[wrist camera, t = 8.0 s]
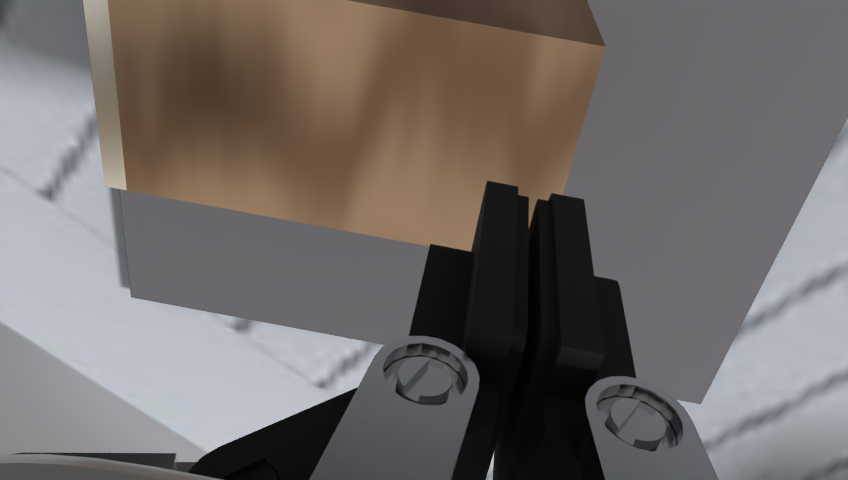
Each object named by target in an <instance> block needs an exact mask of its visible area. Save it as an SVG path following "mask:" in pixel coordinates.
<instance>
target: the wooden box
mask: <svg viewBox="0 0 848 480" xmlns="http://www.w3.org/2000/svg"><path fill="white" fill-rule="evenodd" d="M83 5H84V14H85V22H86V30H87V39H88V47H89V56H90V64H91V72H92V81H93V89H94V97H95V106H96V114H97V122H98V131H99V139H100V148H101V156H102V164H103V173H104V181H105V187H111V188H116V189H122V190H127V191H132V192H138V193H143V194H149V195H154V196H160V197H165V198H170V199H176V200H181V201H187V202H192V203H197V204H203V205H208V206H214V207H219V208H224V209H230V210H235V211H241V212H246V213H251V214H257V215H262V216H268V217H273V218H278V219H284V220H289V221H295V222H300V223H305V224H311V225H316V226H322V227H327V228H332V229H338V230H343V231H349V232H354V233H359V234H365V235H370V236H376V237H381V238H386V239H392V240H397V241H403V242H408V243H413V244H419V245H424V246H430V244H435V245H440V246H445V247H450V248H455V249H460V250H465V251H470V252H471V249H472V245H473V240H474V236H475V231H476V227H477V222H478V218H479V213H480V209H481V204H482V200H483V195H484V191H485V186H486V183H487V181H492V182H497V183H502V184H508V185H513V186H518V195H521V196H527V197H529V226H530V223H531V219H532V215H533V212H534V208H535V205H536V202H537V200H538V199H542V200H547V201H548V200H549V197H550V195H551V193H554V194H560V195H563V192H564V189H565V185H566V182H567V178H568V175H569V172H570V168H571V165H572V161H573V158H574V154H575V151H576V148H577V144H578V141H579V137H580V134H581V130H582V127H583V124H584V120H585V117H586V113H587V110H588V106H589V103H590V100H591V96H592V93H593V89H594V86H595V82H596V79H597V76H598V72H599V69H600V65H601V62H602V58H603V55H604V52H605V48H606V46H605V43H604V41H603V38H602V36H601V34H600V31H599V29H598V26H597V24H596V21H595V19H594V17H593V14H592V12H591V9H590V7H589V5H588V2H587V0H83Z"/></svg>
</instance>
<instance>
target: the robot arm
mask: <svg viewBox="0 0 848 480" xmlns="http://www.w3.org/2000/svg"><path fill="white" fill-rule="evenodd" d="M494 450H495V451H494ZM493 453H494V468H493V480H718V478H717V475H716V473H715V471H714V469H713V466H712V464H711V462H710V460H709V457H708V455H707V453H706V450H705V448H704V446H703V444H702V441H701V439H700V437H699V435H698V432H697V430H696V428H695V426H694V423H693V421H692V419H691V418H690V416H689V415H688V413H687V411H686V410H685V408H684V407H683V406H682V405H681V404H680V403H679V402H678V401H677V400H676V399H675V398H674V397H673V396H672V395H670V394H668V393H667V392H665V391H664V390H662V389H661V388H659V387H658V386H656V385H653V384H651V383H648V382H646V381H644V380H641V379H637V378H636V373H635V367H634V362H633V356H632V351H631V345H630V340H629V334H628V329H627V324H626V318H625V313H624V307H623V302H622V296H621V291H620V286H619V283H618V282H617V281H616V280H613V279H608V278H603V277H598V276H594V270H593V262H592V255H591V247H590V240H589V232H588V225H587V217H586V210H585V202H584V199H580V198H575V197H570V196H565V195H560V194H554V193H551V195H550V197H549V200H548V201H547V200H542V199H538V200H537V202H536V205H535V208H534V212H533V215H532V219H531V223H530V226H529V197H527V196H521V195H518V186H513V185H508V184H502V183H497V182H492V181H487V183H486V186H485V191H484V195H483V200H482V204H481V209H480V213H479V218H478V222H477V227H476V231H475V236H474V240H473V245H472V249H471V252H470V251H465V250H460V249H455V248H450V247H445V246H440V245H435V244H430V247H429V251H428V255H427V260H426V264H425V268H424V272H423V277H422V281H421V285H420V290H419V294H418V298H417V302H416V307H415V311H414V315H413V319H412V324H411V328H410V332H409V336H407V337H403V338H399V339H395V340H393V341H391V342H390V343H388V344H386V345H385V346H383V347H382V348H381V349H380V350H379V352H378V353H377V354H376V355H375V356H374V358H373V360H372V362H371V364H370V366H369V368H368V370H367V372H366V373H365V375H364V377H363V379H362V381H361V383H360V385H359V387H358V388H355V389H353V390H351V391H348V392H346V393H344V394H341V395H339V396H337V397H334V398H332V399H330V400H327V401H325V402H323V403H320V404H318V405H316V406H313V407H311V408H309V409H306V410H304V411H302V412H299V413H297V414H295V415H292V416H290V417H288V418H285V419H283V420H281V421H279V422H276V423H274V424H272V425H269V426H267V427H265V428H262V429H260V430H258V431H255V432H253V433H251V434H248V435H246V436H244V437H241V438H239V439H237V440H234V441H232V442H230V443H227V444H225V445H223V446H220V447H218V448H217V449H215V450H213V451H211V452H210V453H208V454H206V455H205V456H203V457H202V458H201V459H200V460H199V461H198V462H177V456H176V453H172V454H171V453H170V454H169V453H164V454H163V453H18V454H11V455H10V454H9V455H8V454H7V455H0V480H485V479H486V476H487V473H488V469H489V466H490V463H491V460H492V456H493Z"/></svg>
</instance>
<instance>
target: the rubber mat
mask: <svg viewBox="0 0 848 480" xmlns="http://www.w3.org/2000/svg"><path fill="white" fill-rule="evenodd" d="M587 2H588V5H589V7H590V9H591V12H592V14H593V17H594V19H595V21H596V24H597V26H598V29H599V31H600V34H601V36H602V38H603V41H604V43H605V46H606V48H605V52H604V55H603V58H602V62H601V65H600V69H599V72H598V76H597V79H596V82H595V86H594V89H593V93H592V96H591V100H590V103H589V106H588V110H587V113H586V117H585V120H584V124H583V127H582V130H581V134H580V137H579V141H578V144H577V148H576V151H575V154H574V158H573V161H572V165H571V168H570V172H569V175H568V178H567V182H566V185H565V189H564V192H563V195H565V196H570V197H575V198H580V199H584V202H585V210H586V217H587V225H588V232H589V240H590V247H591V255H592V262H593V270H594V276H598V277H603V278H608V279H613V280H616V281H617V282H618V283H619V286H620V291H621V296H622V302H623V307H624V313H625V318H626V324H627V329H628V334H629V340H630V345H631V351H632V356H633V362H634V367H635V373H636V378H637V379H641V380H644V381H646V382H648V383H651V384H653V385H656V386H658V387H659V388H661V389H662V390H664V391H665V392H667V393H668V394H670V395H672V396H673V397H674V398H675V399H676V400H681V401H687V402H692V403H697V404H701V403H702V401H703V399H704V397H705V395H706V393H707V391H708V389H709V387H710V385H711V383H712V381H713V379H714V377H715V375H716V373H717V372H718V370H719V368H720V366H721V364H722V362H723V360H724V358H725V356H726V354H727V352H728V350H729V348H730V346H731V344H732V342H733V340H734V338H735V336H736V334H737V333H738V331H739V329H740V327H741V325H742V323H743V321H744V319H745V317H746V315H747V313H748V311H749V309H750V307H751V305H752V303H753V301H754V299H755V297H756V296H757V294H758V292H759V290H760V288H761V286H762V284H763V282H764V280H765V278H766V276H767V274H768V272H769V270H770V268H771V266H772V264H773V262H774V260H775V258H776V257H777V255H778V253H779V251H780V249H781V247H782V245H783V243H784V241H785V239H786V237H787V235H788V233H789V231H790V229H791V227H792V225H793V223H794V221H795V219H796V218H797V216H798V214H799V212H800V210H801V208H802V206H803V204H804V202H805V200H806V198H807V196H808V194H809V192H810V190H811V188H812V186H813V184H814V182H815V181H816V179H817V177H818V175H819V173H820V171H821V169H822V167H823V165H824V163H825V161H826V159H827V157H828V155H829V153H830V151H831V149H832V147H833V145H834V143H835V142H836V140H837V138H838V136H839V134H840V132H841V130H842V128H843V126H844V124H845V122H846V120H847V118H848V0H587ZM120 198H121V208H122V217H123V227H124V236H125V245H126V255H127V264H128V273H129V283H130V292H131V297H133V298H138V299H144V300H149V301H154V302H160V303H165V304H170V305H176V306H181V307H186V308H191V309H197V310H202V311H207V312H213V313H218V314H223V315H229V316H234V317H239V318H245V319H250V320H255V321H261V322H266V323H271V324H277V325H282V326H287V327H293V328H298V329H303V330H309V331H314V332H319V333H325V334H330V335H335V336H341V337H346V338H351V339H357V340H362V341H367V342H372V343H378V344H383V345H386V344H388V343H390V342H391V341H393V340H395V339H399V338H403V337H407V336H409V332H410V328H411V324H412V319H413V315H414V311H415V307H416V302H417V298H418V294H419V290H420V285H421V281H422V277H423V272H424V268H425V264H426V260H427V255H428V251H429V247H430V246H424V245H419V244H413V243H408V242H403V241H397V240H392V239H386V238H381V237H376V236H370V235H365V234H359V233H354V232H349V231H343V230H338V229H332V228H327V227H322V226H316V225H311V224H305V223H300V222H295V221H289V220H284V219H278V218H273V217H268V216H262V215H257V214H251V213H246V212H241V211H235V210H230V209H224V208H219V207H214V206H208V205H203V204H197V203H192V202H187V201H181V200H176V199H170V198H165V197H160V196H154V195H149V194H143V193H138V192H132V191H127V190H122V189H120Z"/></svg>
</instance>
